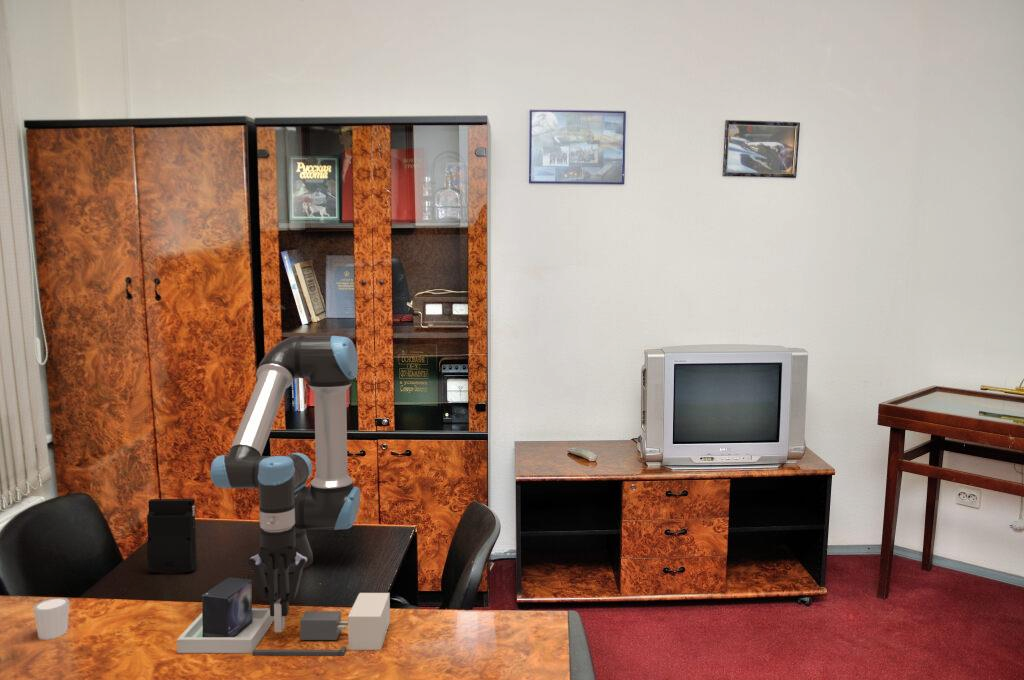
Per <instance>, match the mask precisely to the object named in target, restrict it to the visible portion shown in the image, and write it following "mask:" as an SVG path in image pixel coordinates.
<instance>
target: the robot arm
mask: <svg viewBox="0 0 1024 680" xmlns="http://www.w3.org/2000/svg"><path fill="white" fill-rule="evenodd" d="M357 353H358V352H357V348H356V346H355V344H354V342H353V340H352V339H350V337H347V336H340V335H338V336H337V335H306V336H305V335H293V336H291V337H287V338H285V339H283V340H282V341H279V342H278V343H277V344H276V345H274V346H273V347H272V348H271V349H270V350H269V351H268V352H267V353H266V354H265V355H264V357H263V358H262V360H261V361H260V363H259V365H258V367H257V370H256V375H255V376H256V378H257V380H256V382H255V385H254V389H253V390H252V393H251V396H250V398H249V401H248V403H247V406H246V408H245V411H244V414H243V415H242V419H241V421H240V423H239V426H238V429H237V432H236V434H235V436H234V439H233V441H232V444H231V447H230V449H229V451H228V453H227V454H222V455H217V456H216V457H215V458H214V459H213V460H212V462H211V466H210V472H209V473H210V475H209V476H210V480H211V482H212V484H213V485H214V486H215V487H217V488H223V489H224V488H225V489H232V490H233V489H258V499H259V500H258V501H259V502H258V503H259V506H258V507H259V508H258V509H259V512H258V514H259V527H260V528H261V529H259V545H260V547H259V550H258V553H257V554H255V555H252V556H251V557H250V558H249V560H248V561H247V563H248V565H249V566H250V567H251V569H252V571H253V575H254V579H255V583H256V585H257V589H258V594H259V597H260V600H261V601H262V602H263V601H267V602H268V603H269V608H270V615H271V616H274V622H273V623H274V624H273V625H274V633H282V632H283V630H284V629H285V627H286V617H287V616H288V614H289V613H290V601H294V600H295V598H296V597H297V595H298V592H299V587H300V584H301V583H300V582H301V579H302V575H303V570H305V569H307V568H308V567H310V566H311V565H312V564H313V563H314V554H313V550H312V548H311V545H310V542H309V540H308V536H307V530H334V531H337V530H348V529H350V528H352V527H353V526H354V524H355V522H356V520H357V517H358V513H359V509H360V503H361V489H360V488H359V487H358V486H354V478H352V477H351V476H350V475H349V472H348V432H347V431H348V430H347V429H348V427H347V426H348V425H347V424H348V421H347V415H348V414H347V390H348V389H349V388H350V387H351V386H352V383H353V382H352V380H354V379H356V378H357V376H358V373H359V369H358V368H359V357H358V354H357ZM296 379H307V386H308V387H309V388H310V389H311V390H312V391H313V393H314V395H313V398H314V400H313V401H314V430H315V431H314V438H315V439H314V440H315V477H314V478H312V480H311V481H310V486H307V485H306V482H307V481H308V480H309V478H310V477H312V476H311V475H312V473H313V468H314V467H313V463H312V461H311V459H310V458H309V457H308V456H307V455H305V454H304V453H302V452H293V453H290V454H287V455H274V456H270V455H266V456H265V455H263V453H264V450H265V447H266V444H267V441H268V439H269V437H270V433H271V431H272V428H273V426H274V423H275V421H276V418H277V417H276V416H277V415H278V413H279V409H280V406H281V404H282V400H283V397H284V395H285V393H286V389H288V388H289V387H291V385H292V384H293V383H294V382H293V381H294V380H296ZM291 573H293V576H292V582H291V586H290V574H291ZM265 574H267V575H268V582H267V578H266V575H265ZM278 575H279V581H278ZM278 582H279V586H280V588H279V590H280V594H279V591H278ZM279 596H280V598H279Z"/></svg>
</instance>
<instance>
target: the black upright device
mask: <svg viewBox="0 0 1024 680" xmlns="http://www.w3.org/2000/svg"><path fill="white" fill-rule="evenodd" d="M195 502H196V501H195V498H151V499H149V500H148V501H147V503H148V505H147V506H148V514H147V515H146V523H147V524H146V525H147V526H146V527H147V543H146V544H147V545H146V558H147V559H146V560H147V566H148V570H149V571H150V572H151V573H156V574H168V575H175V574H186V573H187V574H188V573H191V572H194V571H196V570H197V568H198V566H197V536H196V531H197V530H196V510H195V509H196V508H195V507H196V506H195Z"/></svg>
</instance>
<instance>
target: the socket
mask: <svg viewBox="0 0 1024 680" xmlns="http://www.w3.org/2000/svg"><path fill="white" fill-rule="evenodd" d="M390 594H391V593H390V592H359V593H358V595H357V596H356V599H355V601H354V603H353V604H352V607H351V610H350V611H349V613H348V616H347V621H348V627H347V630H348V639H347V640H348V650H349V651H381V650H382V649H383V648H382V647H383V645H384V642H385V639H386V637H385V636H387V634H386V633H388V631H387V629H388V630H389V628H388V626H389V627H390V625H389V623H390V624H391V621H390V620H391V617H390V616H391V611H390V609H391V606H390V605H391V603H390V601H391V600H390V599H391V596H390Z"/></svg>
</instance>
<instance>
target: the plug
mask: <svg viewBox="0 0 1024 680" xmlns="http://www.w3.org/2000/svg"><path fill="white" fill-rule="evenodd" d="M299 626H300V627H299V631H300V633H299V634H300V641H305V640H306V641H337V640H338V639H339V636H340V635H341V632H342V631H346V630H347V626H348V620H345V621H344V620H343V621H342V611H341V610H339V611H337V610H336V611H335V610H334V611H333V610H331V611H329V610H326V611H325V610H320V611H319V610H318V611H316V610H314V611H313V610H311V611H310V610H309V611H308V610H305V612H304V613H303V615H302V616H301V618H300V620H299Z"/></svg>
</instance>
